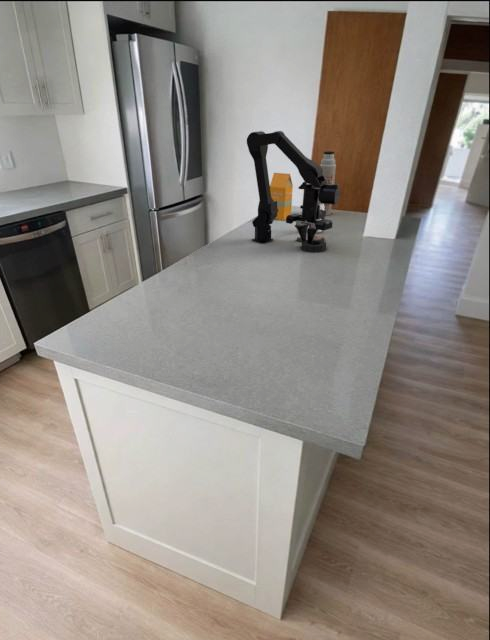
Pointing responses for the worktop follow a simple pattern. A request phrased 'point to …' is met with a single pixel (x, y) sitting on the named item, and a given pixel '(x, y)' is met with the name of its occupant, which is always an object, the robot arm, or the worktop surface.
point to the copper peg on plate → (313, 238)
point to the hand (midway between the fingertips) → (306, 244)
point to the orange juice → (282, 194)
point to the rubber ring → (314, 246)
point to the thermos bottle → (328, 173)
